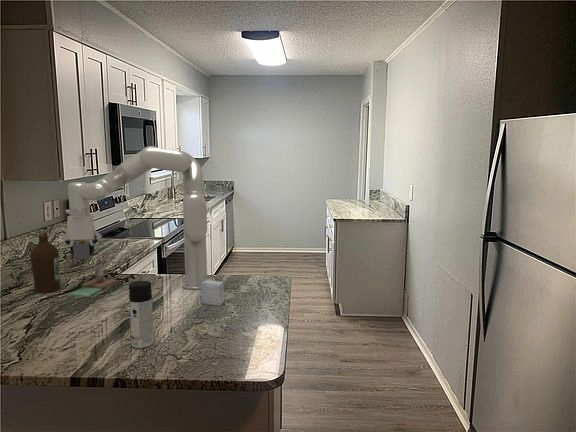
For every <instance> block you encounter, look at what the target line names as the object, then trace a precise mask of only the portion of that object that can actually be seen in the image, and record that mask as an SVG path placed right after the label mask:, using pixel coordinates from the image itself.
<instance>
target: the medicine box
mask: <svg viewBox="0 0 576 432" xmlns="http://www.w3.org/2000/svg"><path fill="white" fill-rule="evenodd" d="M200 290H201V291H200V295H201V304H202V305H210V306H216V307H217V306H218V307H219V306H222V304H224V303H225V295H224V294H225V293H224V290H225V289H224V281H217V280H215V281H209V280H206V281H204V282H202V283H201V289H200Z"/></svg>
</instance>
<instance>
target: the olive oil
mask: <svg viewBox="0 0 576 432" xmlns="http://www.w3.org/2000/svg"><path fill="white" fill-rule="evenodd" d="M48 238H49V237H48V232H47V231H45V232H39V233H38V243H37V244H35V246H34V248H32V250H31V252H30V264H31V270H32V277H33V285H34V292H35V293H38V294H47V293H48V294H49V293H54V292H56V291H58V290H60V288H61V285H60V283H61V282H60V281H61V280H60V252H59V250H58V248H57V247H56V246H55V245H53V244H52V243H51V242H50V241H49V239H48Z"/></svg>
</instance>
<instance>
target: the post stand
mask: <svg viewBox="0 0 576 432" xmlns="http://www.w3.org/2000/svg"><path fill="white" fill-rule="evenodd" d="M119 282H120V280H119V279H112V278H111V279H110V278H104V267H103V265H99V266H95V278H93V279H91V280H88V281H86V282H83V283H81V285H80V288H83V287H88V288H99V289H102V290H107V289H108V288H110V287H112V286H114V285H116V284H118V283H119Z"/></svg>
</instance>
